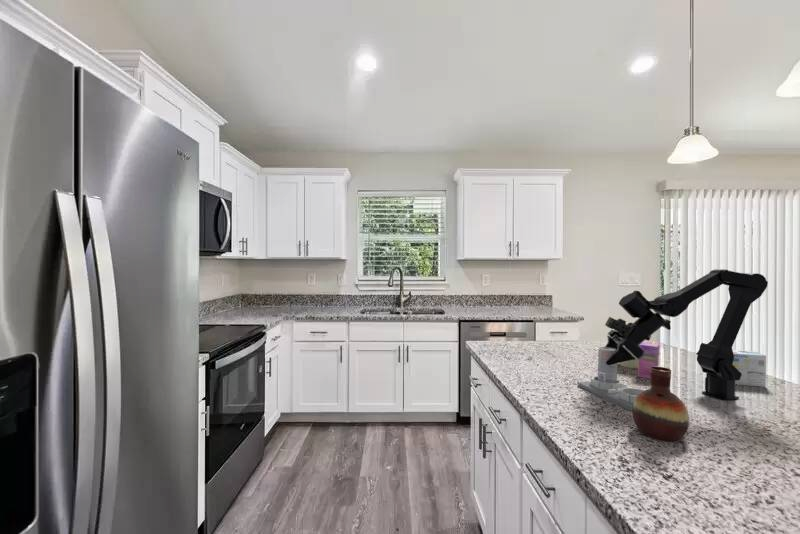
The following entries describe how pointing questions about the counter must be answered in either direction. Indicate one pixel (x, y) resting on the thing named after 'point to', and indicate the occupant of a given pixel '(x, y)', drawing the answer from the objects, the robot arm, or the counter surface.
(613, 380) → the energy drink
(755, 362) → the light bulb box
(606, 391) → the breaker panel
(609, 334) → the robot arm
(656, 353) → the box
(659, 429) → the vase
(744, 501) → the counter surface
